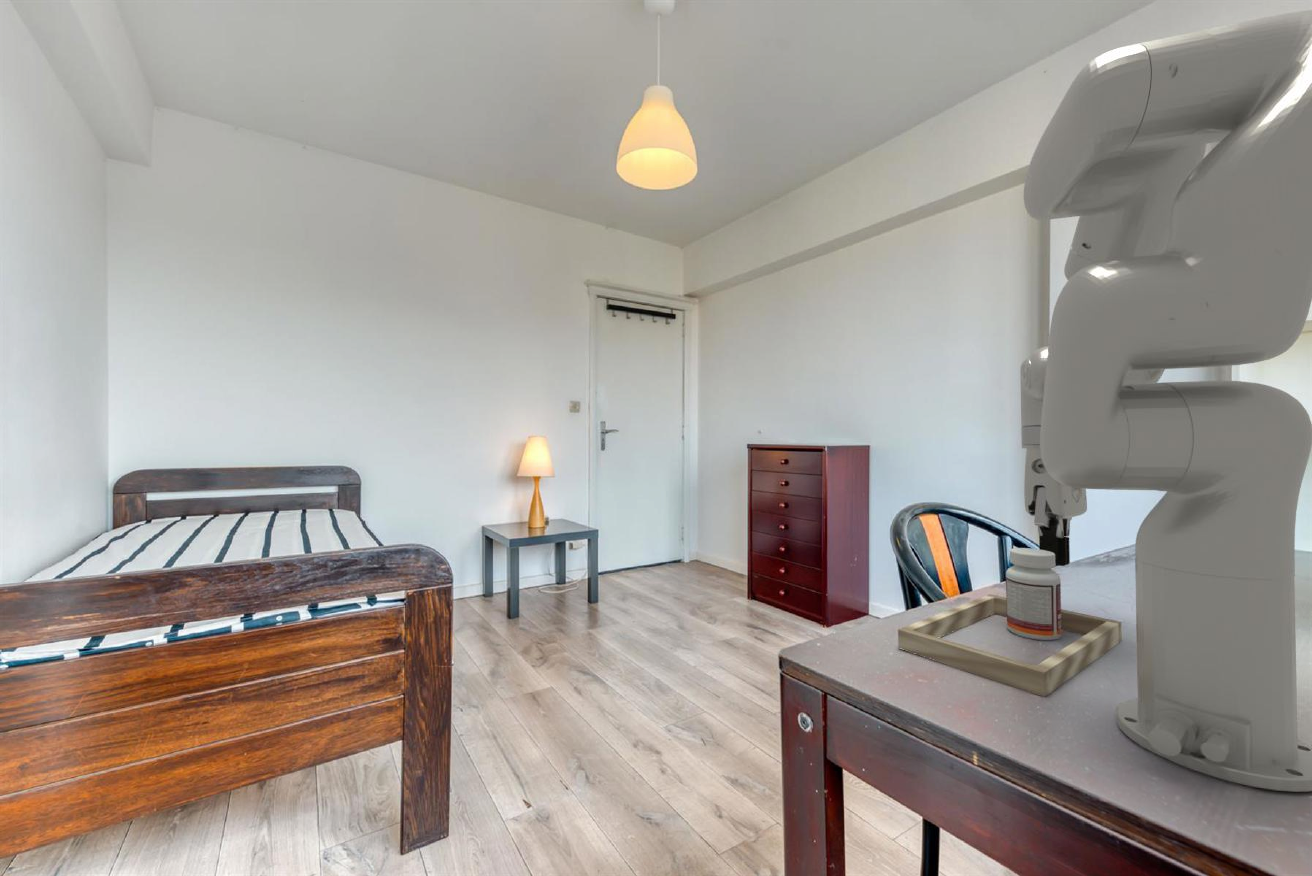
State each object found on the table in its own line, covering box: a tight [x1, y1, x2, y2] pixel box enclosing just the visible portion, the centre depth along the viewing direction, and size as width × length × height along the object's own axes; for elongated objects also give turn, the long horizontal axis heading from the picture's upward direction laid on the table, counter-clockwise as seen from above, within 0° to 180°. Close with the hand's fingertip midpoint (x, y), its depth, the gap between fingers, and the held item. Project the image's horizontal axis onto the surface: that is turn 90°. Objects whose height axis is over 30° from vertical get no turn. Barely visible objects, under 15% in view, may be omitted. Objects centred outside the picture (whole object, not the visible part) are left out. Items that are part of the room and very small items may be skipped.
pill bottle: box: [1005, 547, 1062, 641], centre depth 73 cm, size 6×6×11 cm
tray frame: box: [897, 594, 1123, 698], centre depth 69 cm, size 26×16×2 cm, turn 125°
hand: (1054, 563), depth 78 cm, fingers closed
